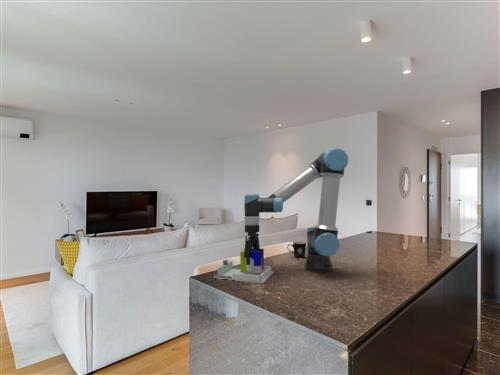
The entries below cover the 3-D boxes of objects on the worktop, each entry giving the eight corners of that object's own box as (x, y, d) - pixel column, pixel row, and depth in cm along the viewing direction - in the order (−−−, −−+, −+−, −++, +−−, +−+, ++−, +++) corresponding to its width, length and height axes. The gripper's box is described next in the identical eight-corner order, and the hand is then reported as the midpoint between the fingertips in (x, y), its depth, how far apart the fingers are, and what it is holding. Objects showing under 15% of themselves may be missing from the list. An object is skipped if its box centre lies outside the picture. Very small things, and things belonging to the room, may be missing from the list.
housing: (273, 272, 149) (273, 266, 149) (263, 283, 131) (263, 276, 131) (229, 269, 157) (229, 263, 158) (213, 278, 140) (213, 271, 140)
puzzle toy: (260, 273, 137) (260, 252, 137) (240, 272, 139) (240, 251, 139) (263, 268, 147) (263, 248, 147) (245, 267, 149) (244, 248, 149)
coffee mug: (308, 257, 186) (308, 242, 186) (303, 260, 179) (303, 244, 179) (292, 255, 192) (291, 240, 192) (286, 258, 185) (286, 242, 185)
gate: (233, 268, 155) (233, 257, 156) (220, 276, 140) (220, 264, 140) (229, 267, 156) (229, 257, 156) (216, 275, 140) (216, 263, 141)
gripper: (252, 222, 156) (252, 262, 155) (236, 226, 134) (237, 273, 133) (265, 222, 153) (266, 263, 153) (251, 226, 132) (252, 274, 131)
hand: (252, 268), depth 143 cm, fingers closed on puzzle toy, 10 cm apart
